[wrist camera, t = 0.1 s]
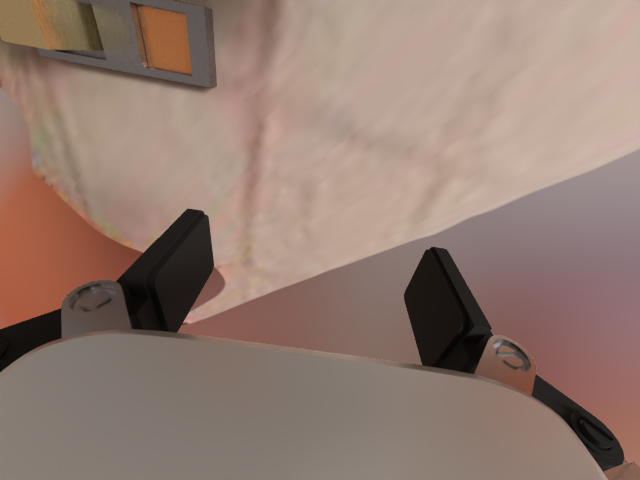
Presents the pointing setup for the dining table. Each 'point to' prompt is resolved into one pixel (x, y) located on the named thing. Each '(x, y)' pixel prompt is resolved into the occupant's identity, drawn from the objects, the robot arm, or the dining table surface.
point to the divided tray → (151, 40)
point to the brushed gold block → (50, 24)
